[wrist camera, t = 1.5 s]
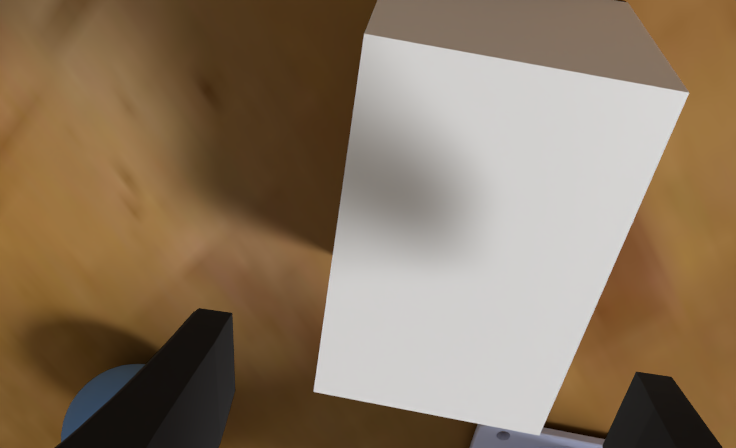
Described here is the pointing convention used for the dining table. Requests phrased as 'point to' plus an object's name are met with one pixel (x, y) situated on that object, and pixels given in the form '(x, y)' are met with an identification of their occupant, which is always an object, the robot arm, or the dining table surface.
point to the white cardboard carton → (487, 199)
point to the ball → (96, 396)
